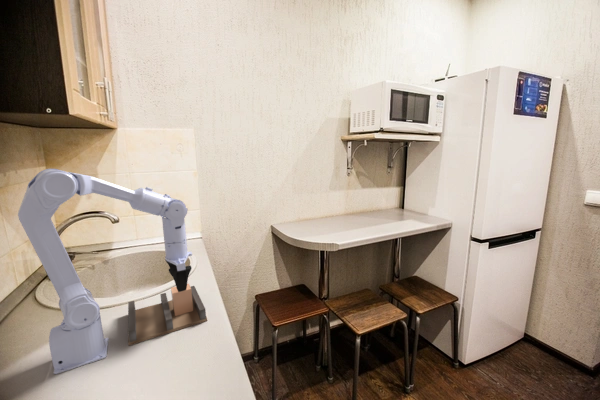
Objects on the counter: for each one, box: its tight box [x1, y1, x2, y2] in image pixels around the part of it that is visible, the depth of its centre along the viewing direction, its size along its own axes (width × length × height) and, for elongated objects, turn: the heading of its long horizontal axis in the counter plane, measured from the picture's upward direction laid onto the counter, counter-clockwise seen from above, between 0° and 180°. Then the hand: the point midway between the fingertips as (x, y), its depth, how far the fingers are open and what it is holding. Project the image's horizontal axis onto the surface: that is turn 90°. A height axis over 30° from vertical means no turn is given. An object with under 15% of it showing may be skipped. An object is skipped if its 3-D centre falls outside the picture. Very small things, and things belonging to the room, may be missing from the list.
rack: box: [127, 285, 208, 346], centre depth 80 cm, size 19×16×4 cm
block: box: [170, 283, 193, 316], centre depth 82 cm, size 5×4×7 cm
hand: (180, 285), depth 81 cm, fingers open, 7 cm apart
